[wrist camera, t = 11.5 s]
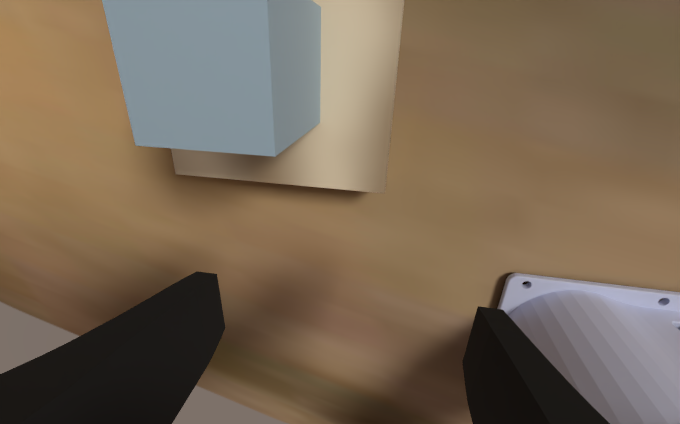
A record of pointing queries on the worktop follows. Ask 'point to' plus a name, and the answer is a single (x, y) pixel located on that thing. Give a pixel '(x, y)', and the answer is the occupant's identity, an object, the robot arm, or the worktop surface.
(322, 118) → the birch base
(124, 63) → the blue block
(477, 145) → the worktop surface
